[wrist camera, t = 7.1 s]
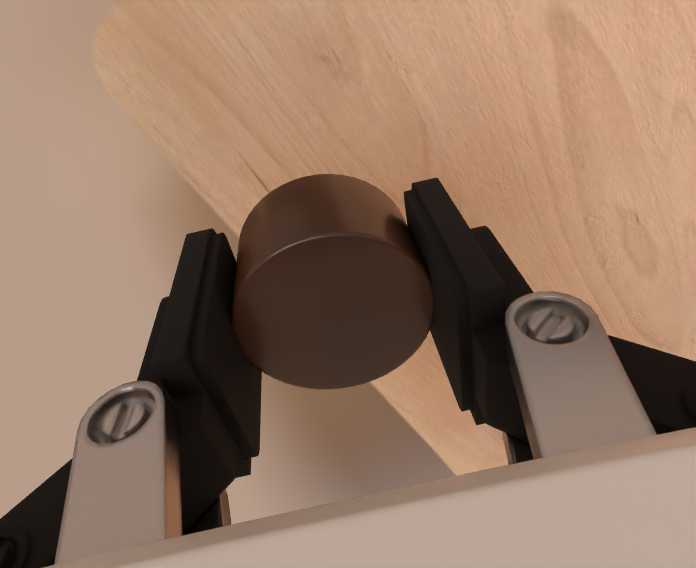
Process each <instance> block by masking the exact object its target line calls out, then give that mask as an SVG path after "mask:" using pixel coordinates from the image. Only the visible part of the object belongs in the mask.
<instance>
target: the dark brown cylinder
mask: <svg viewBox="0 0 696 568" xmlns="http://www.w3.org/2000/svg"><path fill="white" fill-rule="evenodd" d="M433 319H434V303H433V293H432V285H431V279H430V276H429V274H428V272H427V270H426V267H425V265H424V263H423V260H422V258H421V256H420V254H419V251H418V249H417V247H416V245H415V242H414V240H413V238H412V235H411V233H410V231H409V229H408V226H407V224H406V222H405V219H404V217H403V215H402V214H401V212H400V210H399V208H398V207H397V206H396V205H395V203H394V202H393V201H392V200H391V199H390V198H389V197H388V196H387V195H386V194H385V193H384V192H382V191H381V190H379V189H378V188H377V187H375V186H373V185H371V184H369V183H367V182H365V181H362V180H359V179H357V178H354V177H349V176H344V175H335V174H318V175H312V176H306V177H302V178H299V179H295V180H293V181H290V182H288V183H286V184H283V185H281V186H280V187H278V188H276V189H275V190H273V191H271V192H270V193H269V194H268V195H266V196H265V197H264V198H263V199H262V200H261V201H260V202H259V203H258V204H257V205H256V206H255V207H254V208H253V210H252V211H251V213H250V214H249V215H248V217H247V219H246V221H245V223H244V225H243V228H242V231H241V234H240V239H239V245H238V254H237V263H236V272H235V281H234V291H233V300H232V309H231V323H232V326H233V330H234V332H235V334H236V337H237V339H238V341H239V344H240V346H241V348H242V350H243V352H244V354H245V356H246V357H247V358H248V360H249V361H250V362H251V363H253V364H254V365H255V366H256V367H257V368H258V369H260V370H261V371H262V372H264V373H265V374H267V375H269V376H271V377H272V378H274V379H277V380H279V381H282V382H284V383H287V384H290V385H294V386H298V387H303V388H310V389H339V388H347V387H352V386H356V385H360V384H364V383H367V382H370V381H372V380H375V379H377V378H380V377H382V376H384V375H386V374H388V373H389V372H391V371H393V370H394V369H396V368H397V367H399V366H400V365H402V364H403V363H404V362H405V361H407V360H408V359H409V358H410V357H411V356H412V355H413V354H414V353H415V352H416V351H417V349H418V348H419V347H420V346H421V344H422V343H423V341H424V340H425V338H426V336H427V334H428V332H429V330H430V328H431V325H432V322H433Z"/></svg>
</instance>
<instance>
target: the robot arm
mask: <svg viewBox="0 0 696 568" xmlns="http://www.w3.org/2000/svg"><path fill="white" fill-rule="evenodd" d="M404 201H405V209H406V217H407V225H408V229H409V231H410V233H411V235H412V238H413V240H414V242H415V245H416V247H417V249H418V251H419V254H420V256H421V258H422V260H423V263H424V265H425V267H426V270H427V272H428V274H429V276H430V279H431V285H432V293H433V303H434V319H433V322H432V325H431V328H430V332H431V334H432V337H433V339H434V342H435V345H436V347H437V350H438V353H439V355H440V358H441V360H442V363H443V366H444V368H445V371H446V374H447V376H448V379H449V381H450V384H451V387H452V389H453V392H454V395H455V397H456V400H457V402H458V405H459V407H460V409H461V411H466V410H470V411H471V413H472V416H473V418H474V421H475V423H476V425H480V424H484V423H486V424H488V425H490V426H492V427H494V428H496V429H499V430H501V431H503V440H504V444H505V449H506V454H507V458H508V463H509V465H506V466H502V467H497V468H492V469H487V470H483V471H478V472H473V473H468V474H464V475H459V476H454V477H450V478H445V479H440V480H435V481H431V482H427V483H422V484H417V485H412V486H408V487H403V488H399V489H394V490H389V491H384V492H380V493H375V494H371V495H366V496H361V497H357V498H352V499H347V500H343V501H338V502H334V503H329V504H324V505H320V506H315V507H311V508H306V509H301V510H297V511H293V512H288V513H283V514H279V515H274V516H270V517H265V518H260V519H256V520H251V521H246V522H242V523H237V524H233V525H231V518H230V510H229V503H228V495H227V492H226V488H227V487H228V486H229V485H230V483H231V482H232V481H233V480H234V479H235V478H237V477H242V476H246V475H250V474H251V457H256V456H258V455H259V450H260V415H261V414H260V413H261V378H262V371H261V370H260V369H258V368H257V367H256V366H255V365H254V364H253V363H251V362H250V361H249V360H248V358H247V357H246V356H245V354H244V352H243V350H242V348H241V346H240V344H239V341H238V339H237V337H236V334H235V332H234V330H233V326H232V323H231V309H232V300H233V291H234V281H235V272H236V263H237V262H236V260H235V258H234V255H233V252H232V250H231V247H230V245H229V242H228V240H227V238H226V236H225V234H224V233H219V234H216V232H215V230H213V229H207V230H203V231H198V232H194V233H189V234H187V235H186V238H185V242H184V245H183V249H182V252H181V256H180V259H179V263H178V267H177V270H176V274H175V277H174V281H173V285H172V289H171V292H170V295H169V297H165V298H163V299H162V301H161V303H160V305H159V309H158V312H157V315H156V319H155V322H154V326H153V329H152V332H151V336H150V339H149V342H148V346H147V349H146V352H145V356H144V359H143V362H142V366H141V369H140V373H139V376H138V379H137V381H134V382H129V383H125V384H122V385H120V386H118V387H116V388H114V389H112V390H110V391H109V392H107V393H106V394H104V395H103V396H101V397H100V398H99V399H98V400H97V401H96V402H95V403H94V404H92V406H90V407H89V409H88V410H87V412H86V413H85V415H84V416H83V417H82V419H81V422H80V424H79V427H78V430H77V436H76V441H75V447H74V453H73V458H72V459H71V460H70V461H68V462H67V463H66V464H65V465H64V466H63V467H61V468H60V469H59V470H58V471H57V472H55V473H54V474H53V475H52V476H51V477H50V478H48V479H47V480H46V481H45V482H44V483H42V484H41V485H40V486H39V487H38V488H36V489H35V490H34V491H33V492H32V493H31V494H29V495H28V496H27V497H26V498H25V499H24V500H22V501H21V502H20V503H19V504H17V505H16V506H15V507H14V508H13V509H12V510H10V511H9V512H8V513H7V514H6V515H4V516H3V517H2V518H1V519H0V568H696V362H695V361H692V360H689V359H685V358H682V357H679V356H676V355H672V354H669V353H666V352H662V351H659V350H656V349H652V348H649V347H646V346H643V345H639V344H636V343H633V342H629V341H626V340H623V339H619V338H616V337H613V336H610V335H607V334H606V332H605V330H604V328H603V326H602V324H601V322H600V320H599V318H598V316H597V314H596V313H595V312H594V310H593V309H592V308H591V306H589V305H588V304H586V303H585V302H583V301H582V300H581V299H578V298H576V297H573V296H571V295H568V294H564V293H559V292H535V293H534V292H533V291H532V289H531V288H530V287H529V285H528V284H527V282H526V281H525V279H524V278H523V277H522V275H521V274H520V272H519V271H518V269H517V268H516V267H515V265H514V264H513V262H512V261H511V259H510V258H509V257H508V255H507V254H506V252H505V251H504V249H503V248H502V247H501V245H500V244H499V242H498V241H497V239H496V238H495V236H494V235H493V234H492V232H491V231H490V229H489V228H488V227H487V226H481V227H476V228H472V229H470V228H469V226H468V225H467V223H466V222H465V220H464V219H463V217H462V215H461V214H460V212H459V211H458V209H457V208H456V206H455V204H454V203H453V201H452V200H451V198H450V197H449V195H448V193H447V192H446V190H445V189H444V187H443V186H442V184H441V182H440V181H439V179H438V178H433V179H429V180H424V181H420V182H415V183H412V190H409V191H405V192H404Z"/></svg>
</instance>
